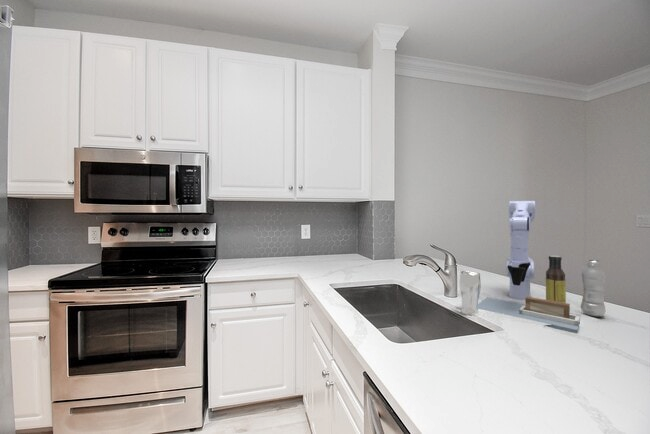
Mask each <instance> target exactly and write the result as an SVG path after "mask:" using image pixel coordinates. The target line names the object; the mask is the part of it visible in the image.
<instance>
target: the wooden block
mask: <svg viewBox="0 0 650 434" xmlns="http://www.w3.org/2000/svg"><path fill="white" fill-rule="evenodd" d="M524 304H525V310H528V311H532V312H537V313H542V314H547V315H552V316H557V317H562V318H567V319H569V316H570V313H571V311H570V310H571V304H570V303H569V302H568V303H567V302H566V303H562V302H557V301H551V300H546V298H545V299H544V298H538V297H532V296H530V297H526V300H525V303H524Z"/></svg>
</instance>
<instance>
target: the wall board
mask: <svg viewBox="0 0 650 434" xmlns="http://www.w3.org/2000/svg"><path fill="white" fill-rule="evenodd" d="M479 309H480V310H484V311H488V312H492V313H496V314H501V315H502V314H503V315H506V316H511V317H516V318H521V319H524V320H530V321H535V322H538V323H544V324H545V325H542V326H543V327H548V328H552V329H557V330H562V331H567V332H571V333H575V334H578V333H579V328H580V319H581V316H582V315H581V314H580V313H579V314H578V313H573V312H570V316H569V319H567V318H562V317H557V316H552V315H547V314H542V313H537V312H532V311H528V310H525V303H519V302H517V301H516V302H515V301H510V300H505V299H501V298H500V299H499V298H496V297H495V298H494V297H489V296H486V297H484V299H482V300H480V302H478V310H479Z"/></svg>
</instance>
